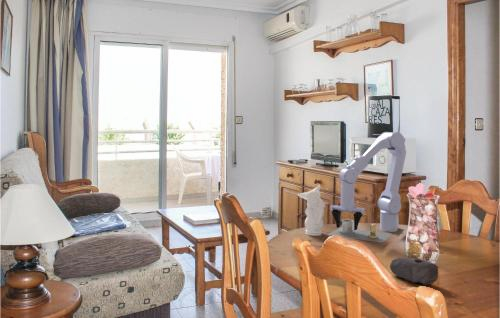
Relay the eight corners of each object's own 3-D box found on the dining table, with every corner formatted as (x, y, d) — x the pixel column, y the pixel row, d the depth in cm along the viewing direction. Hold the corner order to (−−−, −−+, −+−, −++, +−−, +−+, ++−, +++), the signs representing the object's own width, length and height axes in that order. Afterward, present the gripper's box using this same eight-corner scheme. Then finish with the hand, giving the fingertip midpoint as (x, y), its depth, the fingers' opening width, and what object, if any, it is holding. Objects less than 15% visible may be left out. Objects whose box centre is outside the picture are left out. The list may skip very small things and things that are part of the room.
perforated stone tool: (385, 275, 136) (385, 253, 136) (395, 272, 139) (395, 251, 139) (429, 290, 124) (430, 266, 124) (439, 286, 127) (440, 262, 127)
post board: (340, 230, 195) (340, 216, 195) (392, 237, 183) (393, 222, 183) (326, 238, 182) (327, 223, 181) (382, 246, 170) (383, 229, 169)
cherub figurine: (318, 241, 177) (318, 187, 176) (290, 237, 184) (291, 185, 182) (329, 235, 188) (330, 184, 186) (302, 231, 194) (303, 182, 192)
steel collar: (343, 230, 190) (343, 218, 190) (354, 231, 187) (355, 220, 187) (338, 232, 185) (339, 220, 185) (350, 234, 183) (351, 222, 182)
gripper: (327, 196, 186) (327, 228, 187) (361, 199, 178) (360, 232, 179) (333, 194, 192) (333, 225, 193) (366, 197, 184) (365, 229, 185)
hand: (346, 228), depth 186 cm, fingers open, 7 cm apart
